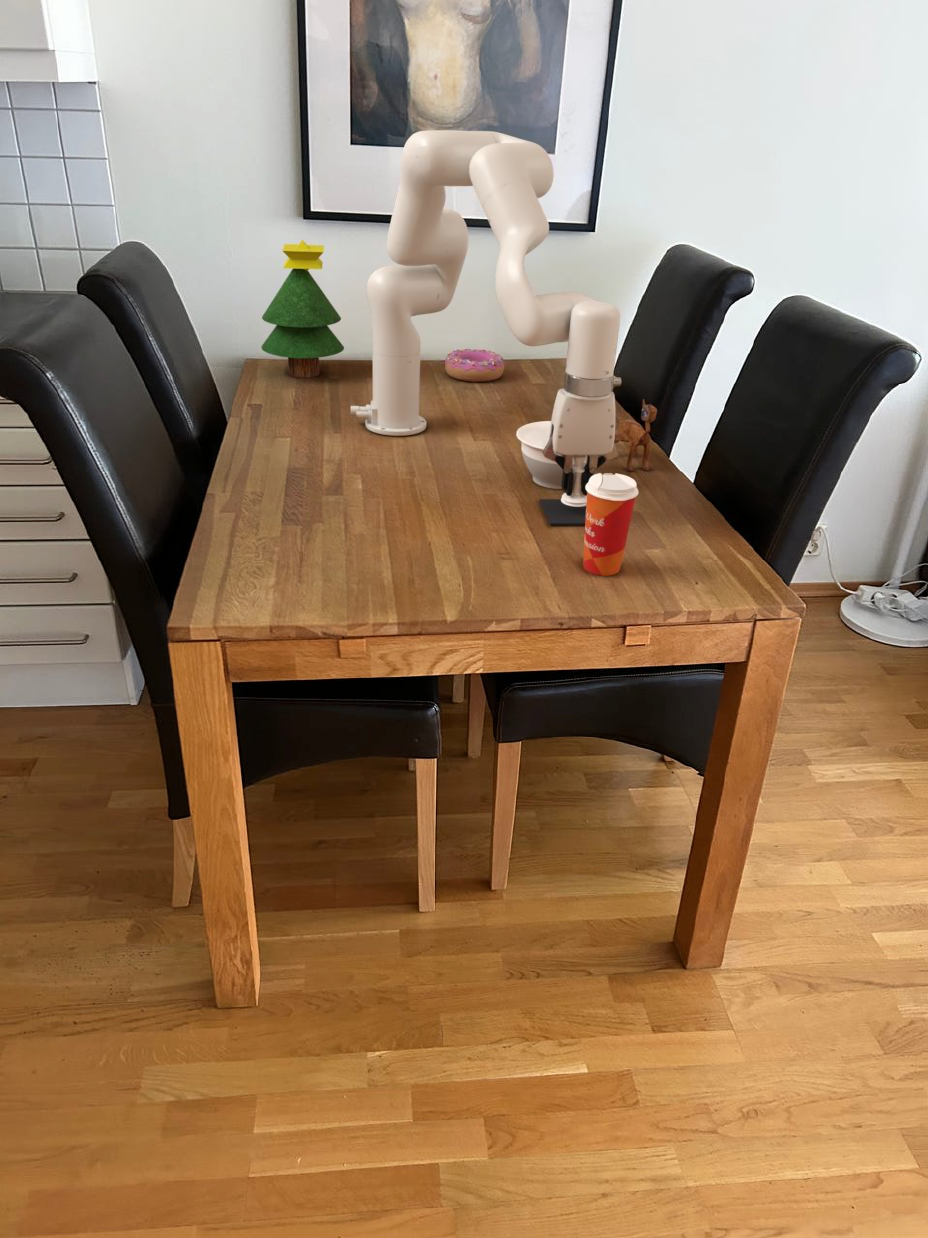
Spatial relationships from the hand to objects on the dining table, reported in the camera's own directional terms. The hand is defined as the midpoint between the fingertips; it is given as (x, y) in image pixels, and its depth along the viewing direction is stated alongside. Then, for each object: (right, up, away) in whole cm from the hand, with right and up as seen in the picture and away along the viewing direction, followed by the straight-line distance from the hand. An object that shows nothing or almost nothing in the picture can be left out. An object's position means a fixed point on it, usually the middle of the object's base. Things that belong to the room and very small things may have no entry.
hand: (575, 491), depth 157 cm
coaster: (0, -3, +2) cm, 4 cm away
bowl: (-2, +4, +15) cm, 16 cm away
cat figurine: (+13, +10, +26) cm, 31 cm away
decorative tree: (-57, +37, +66) cm, 95 cm away
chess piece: (0, -2, +1) cm, 2 cm away
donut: (-16, +38, +71) cm, 82 cm away
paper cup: (+2, -14, -15) cm, 20 cm away
